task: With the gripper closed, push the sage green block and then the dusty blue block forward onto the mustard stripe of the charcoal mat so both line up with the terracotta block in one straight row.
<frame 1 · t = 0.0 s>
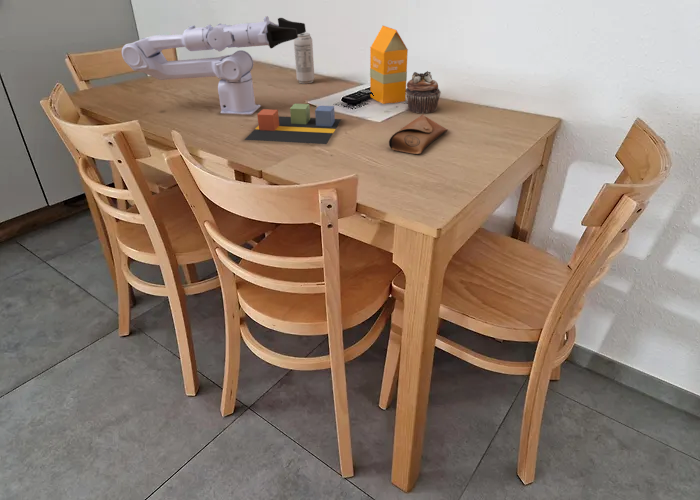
hand: (301, 30, 127), 22 cm above the table, tool horizontal, fingers open, 7 cm apart
cupcake: (422, 109, 140), on the table
orange juice: (387, 99, 149), on the table
terracotta block: (269, 127, 129), resting on line mat
sunglasses case: (419, 140, 121), on the table
sage block: (300, 121, 132), resting on line mat
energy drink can: (305, 82, 167), on the table
blue block: (325, 123, 131), resting on line mat
line mat: (295, 130, 128), on the table
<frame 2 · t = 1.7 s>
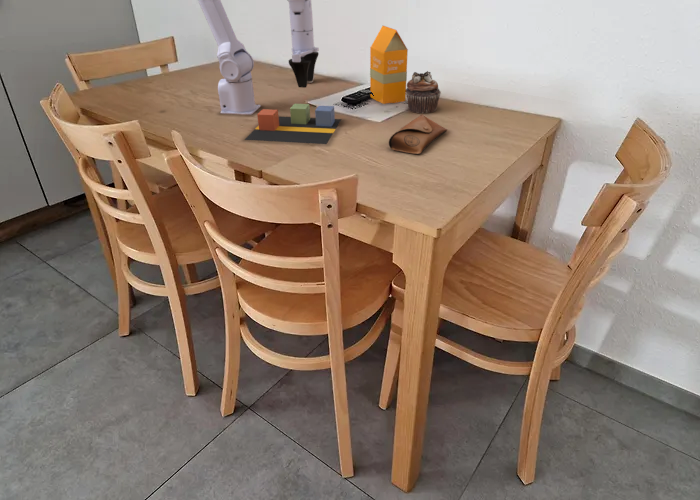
hand: (305, 83, 134), 8 cm above the table, tool pointing down, fingers open, 6 cm apart
nothing on the table moved.
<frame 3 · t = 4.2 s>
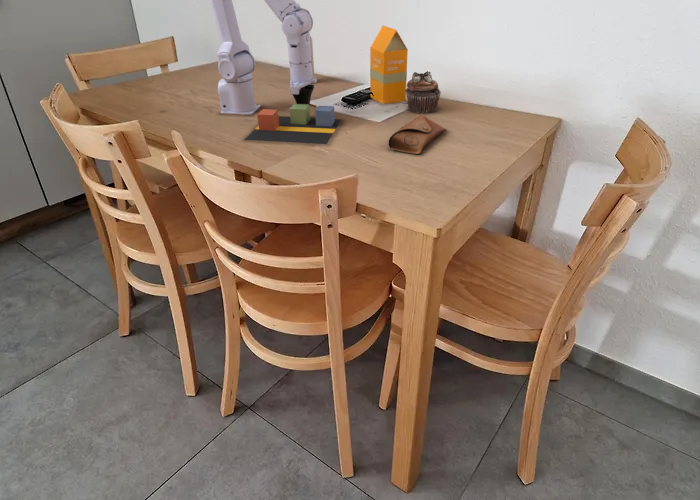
hand: (304, 113, 135), 1 cm above the table, tool pointing down, fingers closed
sage block: (300, 121, 132), resting on line mat, touching gripper
everything else where it was.
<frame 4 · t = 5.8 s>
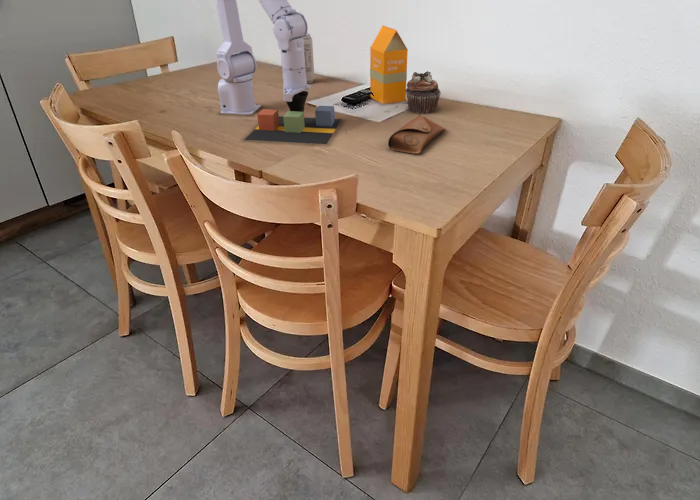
hand: (298, 120, 130), 1 cm above the table, tool pointing down, fingers closed
sage block: (294, 129, 127), resting on line mat, touching gripper
everything else where it was.
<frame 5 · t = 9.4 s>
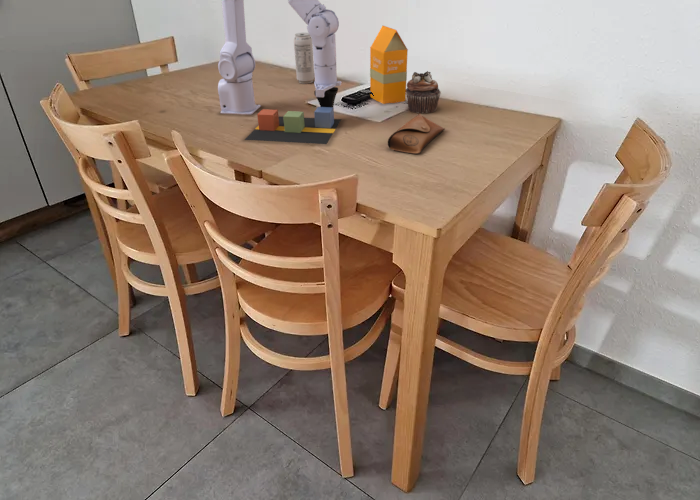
hand: (327, 116, 132), 1 cm above the table, tool pointing down, fingers closed
sage block: (294, 129, 127), resting on line mat
blue block: (324, 125, 130), resting on line mat
everything else where it was.
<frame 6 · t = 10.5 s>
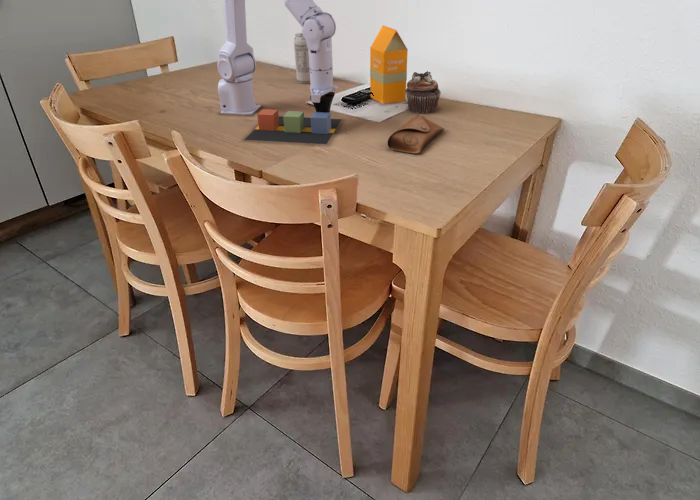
hand: (323, 121, 129), 1 cm above the table, tool pointing down, fingers closed
blue block: (321, 130, 126), resting on line mat, touching gripper
everything else where it was.
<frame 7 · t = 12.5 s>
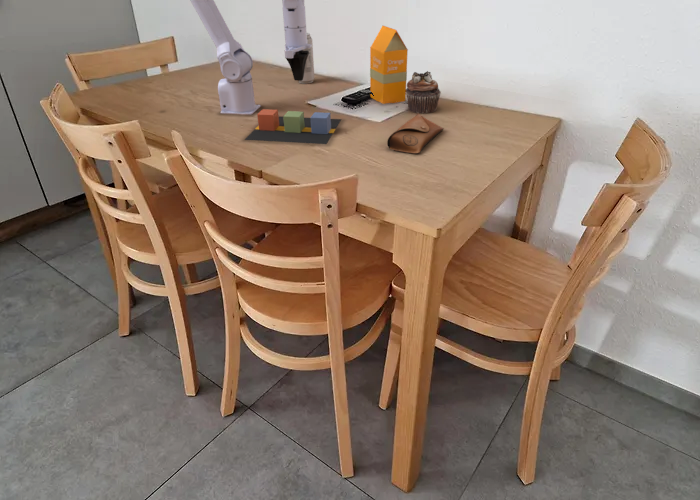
hand: (298, 80, 135), 9 cm above the table, tool pointing down, fingers closed
blue block: (321, 131, 126), resting on line mat
everything else where it was.
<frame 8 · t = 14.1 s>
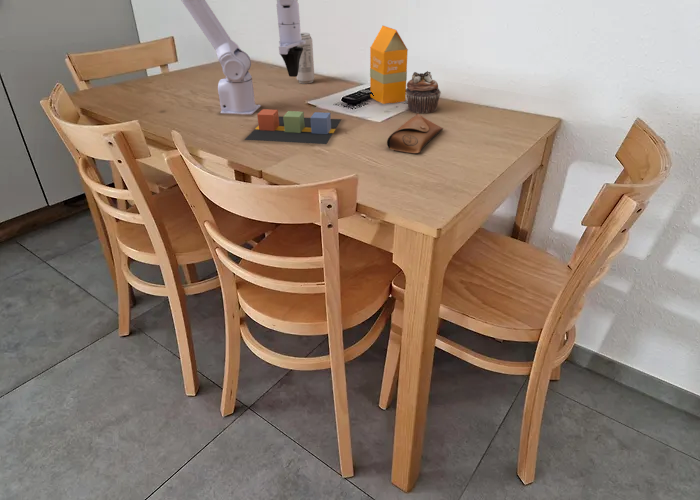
hand: (293, 76, 137), 9 cm above the table, tool pointing down, fingers closed
nothing on the table moved.
at the end: sage block 0.6 cm from the target spot, resting on line mat; blue block 0.6 cm from the target spot, resting on line mat; terracotta block moved 0.0 cm from its start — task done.
